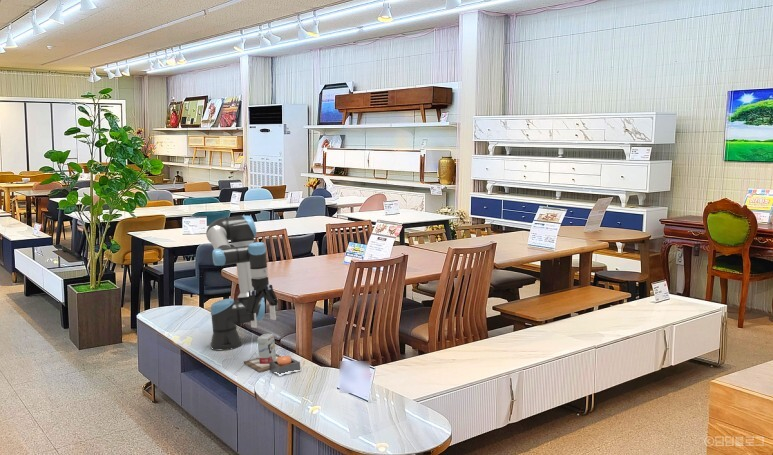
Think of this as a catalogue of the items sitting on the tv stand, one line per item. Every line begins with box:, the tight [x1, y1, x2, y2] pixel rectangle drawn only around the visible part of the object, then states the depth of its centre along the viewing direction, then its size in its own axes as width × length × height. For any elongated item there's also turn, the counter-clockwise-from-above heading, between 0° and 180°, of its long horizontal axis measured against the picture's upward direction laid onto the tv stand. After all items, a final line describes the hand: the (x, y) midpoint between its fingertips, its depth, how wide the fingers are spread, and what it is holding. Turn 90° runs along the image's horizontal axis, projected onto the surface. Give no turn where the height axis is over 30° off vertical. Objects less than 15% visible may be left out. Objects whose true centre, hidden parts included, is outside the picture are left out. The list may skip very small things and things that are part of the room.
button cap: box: [277, 355, 292, 366], centre depth 297 cm, size 6×6×4 cm
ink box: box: [257, 333, 277, 364], centre depth 309 cm, size 9×5×12 cm, turn 167°
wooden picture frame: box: [243, 353, 282, 373], centre depth 310 cm, size 18×16×1 cm
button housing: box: [269, 357, 301, 374], centre depth 297 cm, size 10×10×4 cm
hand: (264, 323), depth 308 cm, fingers open, 13 cm apart
